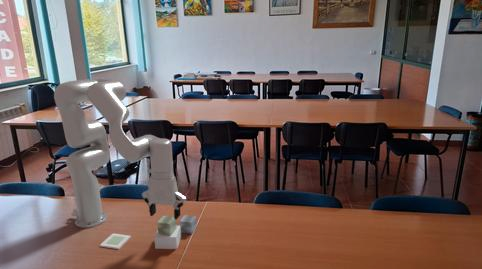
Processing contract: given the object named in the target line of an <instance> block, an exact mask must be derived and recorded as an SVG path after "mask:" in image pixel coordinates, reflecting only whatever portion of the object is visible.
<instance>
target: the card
mask: <svg viewBox="0 0 482 269" xmlns="http://www.w3.org/2000/svg"><path fill="white" fill-rule="evenodd" d="M131 237H132V236H131V235H127V234H121V233H111V234H110V235H109V236H108V237H106V239H105V240H103V241H102V242H101V243H100V244H99V247H100V248H101V247H102V248H103V247H104V248H108V249H114V250H115V249H116V250H120V249H121V248H122V247H123V246H124V245H125V244H126V243H127V242H128V241H129V240H130V239H131Z"/></svg>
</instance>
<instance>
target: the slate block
mask: <svg viewBox="0 0 482 269" xmlns="http://www.w3.org/2000/svg"><path fill="white" fill-rule="evenodd" d="M179 226H181V234H182V233H183V234H188V235H189V234H190V235H192V234H193V233H194V232H195V230H196V229H197V227H198V226H197V216H195V215H189V214H188V215H187V214H184V215H183V217H181V219H180V220H179Z"/></svg>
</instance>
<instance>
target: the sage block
mask: <svg viewBox="0 0 482 269" xmlns="http://www.w3.org/2000/svg"><path fill="white" fill-rule="evenodd" d="M156 225H157V231H158V234H160V235H167V236H171V235H172V234H173V233H174V231H175V230H176V229H177V227H176V226H177V220H175V219H174V216H172V215H171V216H170V215H162V217H161V218H160V219H159V220H158V221H157V222H156Z"/></svg>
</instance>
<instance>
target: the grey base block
mask: <svg viewBox="0 0 482 269" xmlns="http://www.w3.org/2000/svg"><path fill="white" fill-rule="evenodd" d="M176 227H177V229H176V230H175V231H174V233H173V234H172V235H171V236H167V235H160V234H158V230H157V231H156V232H155V235H154V247H155V249H156V250H158V249H163V250H178V248H179V244H180V242H181V239H182V232H181V226H180V225H176Z"/></svg>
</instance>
